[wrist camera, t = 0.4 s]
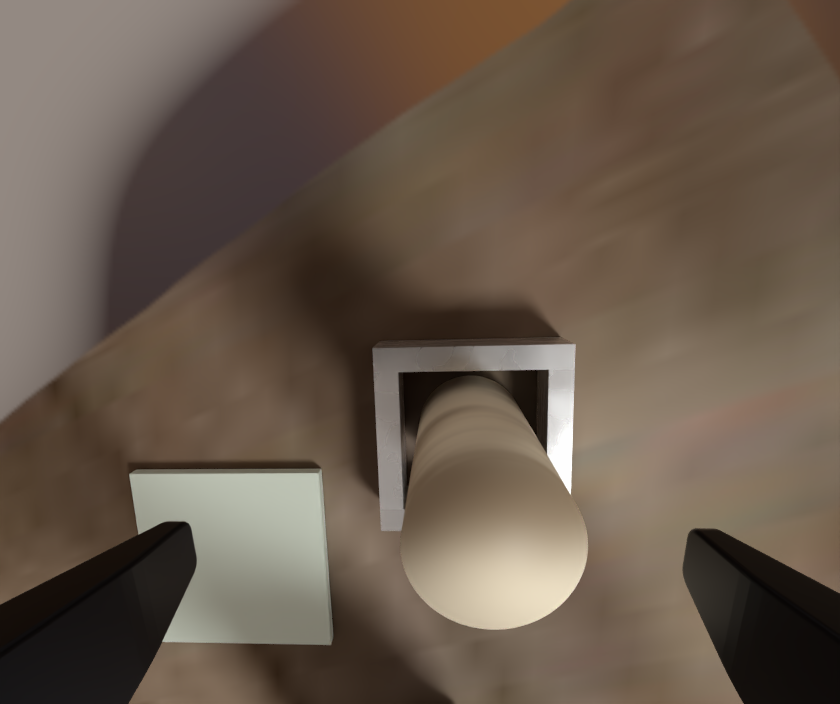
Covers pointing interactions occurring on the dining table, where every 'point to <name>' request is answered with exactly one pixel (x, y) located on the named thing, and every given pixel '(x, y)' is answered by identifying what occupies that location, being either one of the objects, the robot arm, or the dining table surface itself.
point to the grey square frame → (468, 355)
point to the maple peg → (487, 512)
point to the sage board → (245, 552)
